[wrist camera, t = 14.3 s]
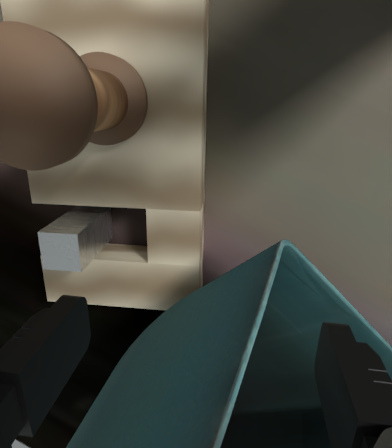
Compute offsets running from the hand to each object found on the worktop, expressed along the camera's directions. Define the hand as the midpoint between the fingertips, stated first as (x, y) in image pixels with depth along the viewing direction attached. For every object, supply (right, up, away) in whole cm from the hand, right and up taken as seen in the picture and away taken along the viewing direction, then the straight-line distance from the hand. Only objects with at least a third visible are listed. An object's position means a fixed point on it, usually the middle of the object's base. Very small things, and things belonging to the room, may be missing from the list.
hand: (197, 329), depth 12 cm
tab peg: (-11, +4, +25) cm, 27 cm away
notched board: (-7, +10, +22) cm, 25 cm away
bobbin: (-7, +14, +17) cm, 23 cm away
